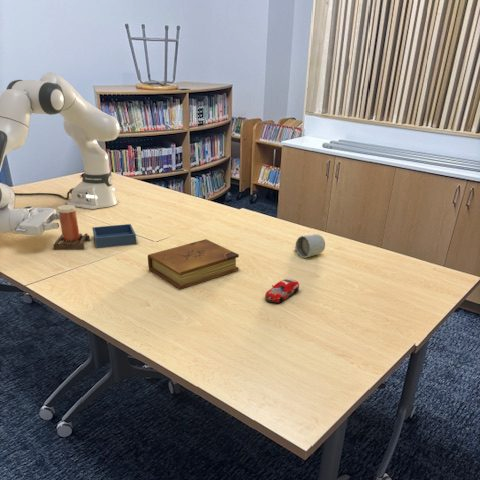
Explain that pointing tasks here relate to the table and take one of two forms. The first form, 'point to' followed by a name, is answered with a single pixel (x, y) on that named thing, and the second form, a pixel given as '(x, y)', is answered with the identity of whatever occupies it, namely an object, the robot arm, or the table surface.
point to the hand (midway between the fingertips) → (62, 221)
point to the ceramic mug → (310, 245)
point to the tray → (114, 235)
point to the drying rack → (68, 245)
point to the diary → (192, 263)
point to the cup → (68, 222)
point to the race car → (282, 290)
